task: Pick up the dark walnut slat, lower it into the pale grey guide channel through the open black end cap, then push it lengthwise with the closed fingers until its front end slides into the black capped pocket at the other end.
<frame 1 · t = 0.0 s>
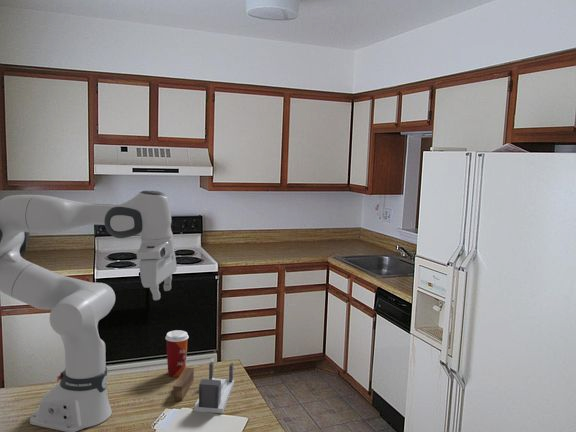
hand: (162, 294, 142), 39 cm above the counter, tool pointing down, fingers open, 8 cm apart
coffee cup: (176, 373, 179), on the counter
slat: (183, 390, 167), on the counter
endcap frame: (215, 396, 163), on the counter
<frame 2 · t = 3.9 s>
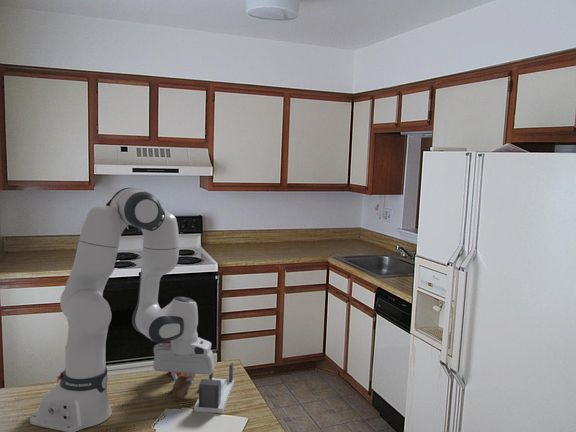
hand: (183, 384, 166), 2 cm above the counter, tool pointing down, fingers closed on slat, 3 cm apart
slat: (183, 390, 167), on the counter, touching gripper
everything else where it was.
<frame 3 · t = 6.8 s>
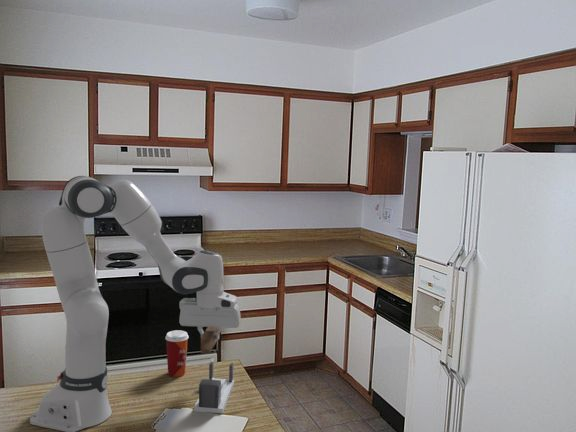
hand: (210, 338, 165), 18 cm above the counter, tool pointing down, fingers closed on slat, 3 cm apart
slat: (210, 344, 166), point 16 cm above the counter, touching gripper
everything else where it was.
when the fingers open (5 cm above the counter, at t = 9.8 s): slat stays where it is, resting on endcap frame.
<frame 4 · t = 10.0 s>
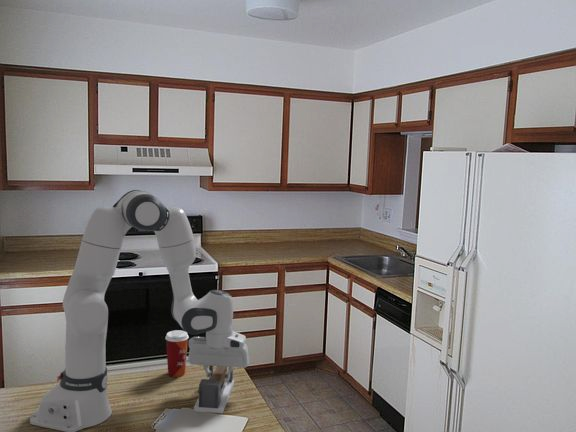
hand: (218, 377, 167), 5 cm above the counter, tool pointing down, fingers open, 5 cm apart
slat: (218, 386, 167), point 1 cm above the counter, touching endcap frame
everything else where it was.
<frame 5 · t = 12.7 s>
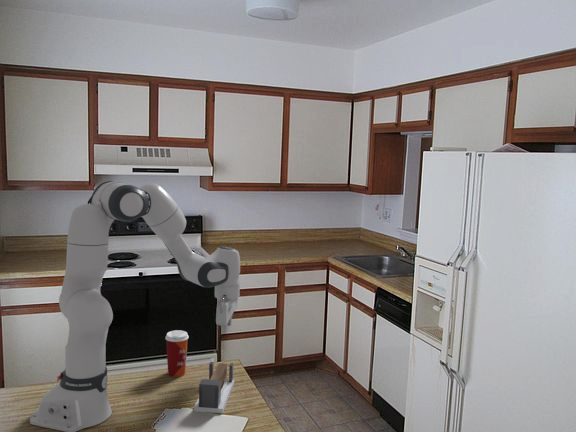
hand: (226, 329, 177), 17 cm above the counter, tool pointing down, fingers open, 6 cm apart
nothing on the counter moved.
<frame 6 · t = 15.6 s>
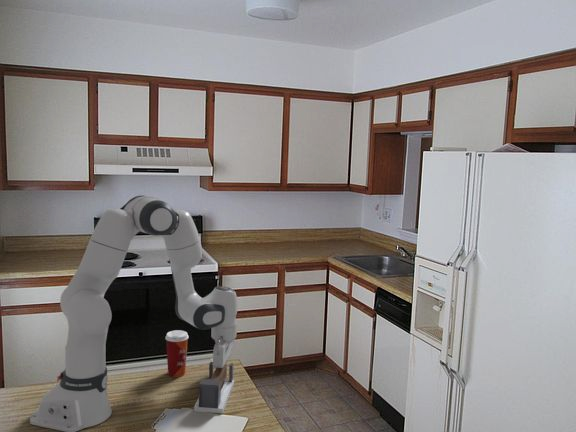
hand: (223, 369, 175), 4 cm above the counter, tool pointing down, fingers closed
slat: (218, 386, 167), point 2 cm above the counter, touching gripper
everything else where it was.
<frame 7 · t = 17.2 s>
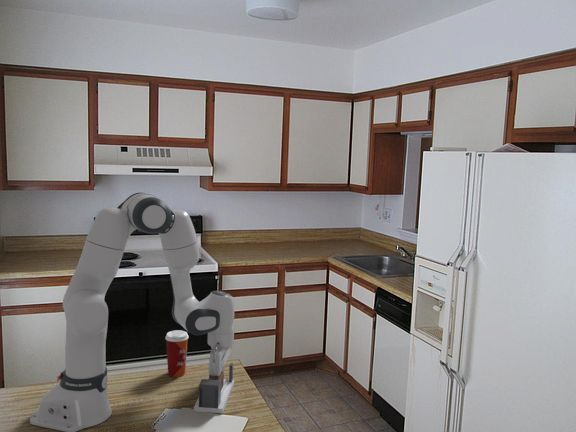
hand: (220, 376, 169), 4 cm above the counter, tool pointing down, fingers closed
slat: (214, 395, 161), point 2 cm above the counter, touching endcap frame, gripper
everything else where it was.
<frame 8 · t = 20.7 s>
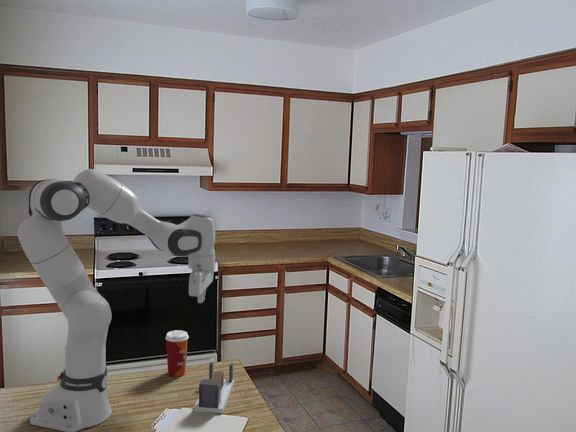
hand: (201, 301, 169), 29 cm above the counter, tool pointing down, fingers closed
slat: (214, 395, 161), point 1 cm above the counter, touching endcap frame
everything else where it was.
at the end: slat 0.2 cm from the target spot, point 1.5 cm above the counter; slat tilted 0°; the gripper is holding nothing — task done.
